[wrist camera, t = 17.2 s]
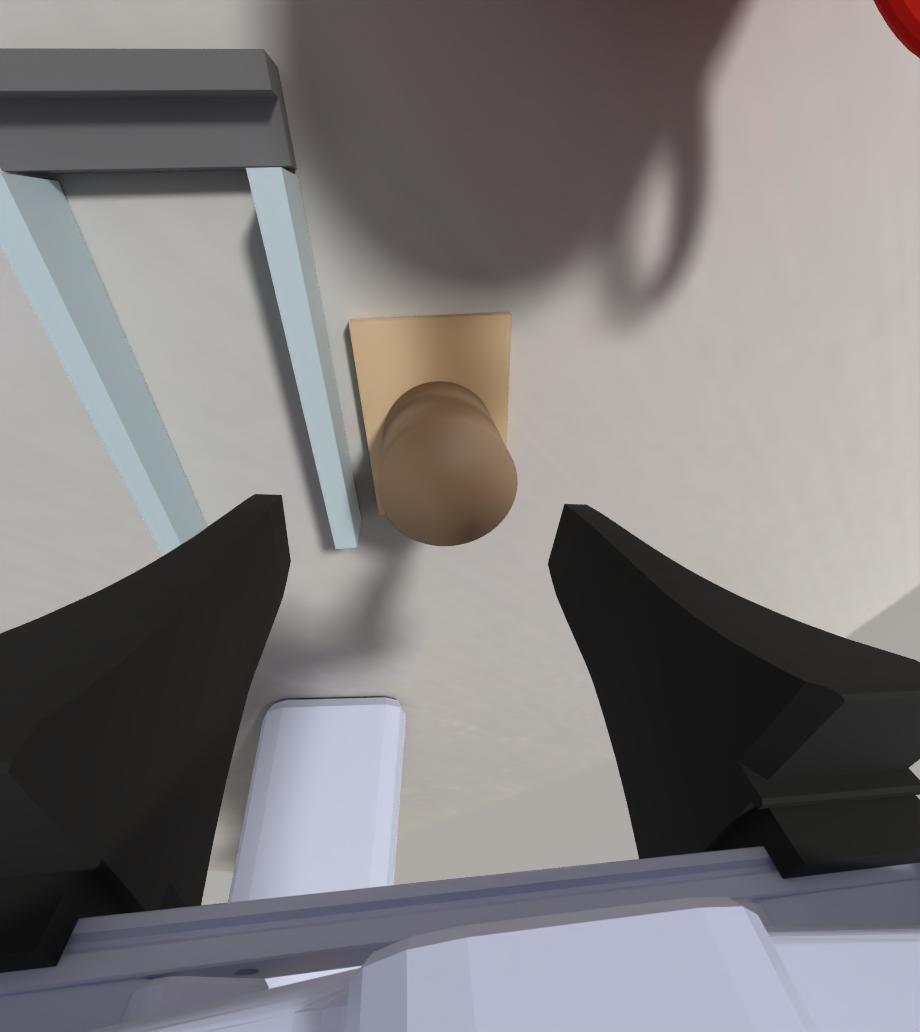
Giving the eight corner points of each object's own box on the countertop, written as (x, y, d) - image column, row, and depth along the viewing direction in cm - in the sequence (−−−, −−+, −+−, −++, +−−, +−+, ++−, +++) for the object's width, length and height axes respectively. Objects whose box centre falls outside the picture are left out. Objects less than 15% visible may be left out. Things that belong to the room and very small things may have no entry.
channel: (188, 533, 22) (166, 563, 20) (25, 182, 14) (-38, 172, 12) (361, 519, 22) (357, 547, 20) (297, 176, 14) (281, 167, 13)
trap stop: (21, 174, 14) (-20, 167, 12) (-28, 68, 12) (-79, 48, 11) (296, 169, 14) (285, 161, 13) (277, 67, 13) (263, 49, 12)
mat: (379, 509, 22) (378, 515, 22) (350, 319, 17) (348, 322, 17) (502, 499, 23) (504, 505, 22) (508, 312, 18) (511, 314, 17)
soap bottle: (452, 757, 36) (503, 1301, 18) (279, 766, 34) (134, 1395, 16) (466, 687, 31) (559, 1347, 13) (264, 692, 29) (21, 1497, 10)
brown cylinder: (406, 497, 21) (407, 561, 17) (365, 402, 18) (354, 450, 14) (503, 466, 21) (529, 524, 17) (477, 365, 18) (499, 403, 14)
